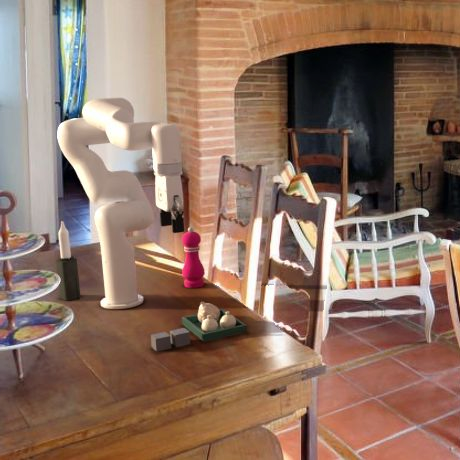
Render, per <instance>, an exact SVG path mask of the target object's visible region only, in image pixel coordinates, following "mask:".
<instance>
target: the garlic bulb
mask: <svg viewBox="0 0 460 460" xmlns="http://www.w3.org/2000/svg"><path fill="white" fill-rule="evenodd" d="M219 310H220V309H219V307H217V305H214V304H213V303H210V302H209V303H207V302H205V301H203V300H201V301H200V303H199V307H198V312H197V314H198V319H199V321H200V322H201V323H203V321H204V320H206V319H207V316H208V315H211V318H212V319H214V320H216V322H217V320H218V318H219V316H220V311H219Z"/></svg>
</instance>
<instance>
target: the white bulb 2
mask: <svg viewBox="0 0 460 460" xmlns="http://www.w3.org/2000/svg"><path fill="white" fill-rule="evenodd" d="M226 311H227V310H226ZM229 313H230V311H227V312H226V315H224V316H223V317H222V318H221V320H220V325H221V327H222V328H223V329H226V328H231V327H235V325H236V319H235V317H236V316H234V315H233V316H232V314H231V313H230V314H231V315H230V314H229Z"/></svg>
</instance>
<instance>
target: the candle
mask: <svg viewBox="0 0 460 460" xmlns="http://www.w3.org/2000/svg"><path fill="white" fill-rule="evenodd" d="M59 228H60V229H59V231H58V234H57V235H58V244H59V250H60V251H59V252H60V256H58V257H57V258H56V259H55V267H56V275H57V274H58V275H59V276H60V278H61V282H60V284H59V286H58V285H57V286H58V287H57V288H58V295H59V296H58V297H59V299H60V300H63V301H66V302H69V301H72V300H75V299H80V298H81V286H80V276H79V268H78V259H77V258H76V257H75V255H72V253H71V251H72V250H71V243H70V233H69V230H68V229H67V228H66V225H65V221H64V220H61V222H60V227H59Z"/></svg>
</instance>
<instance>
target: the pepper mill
mask: <svg viewBox="0 0 460 460" xmlns="http://www.w3.org/2000/svg"><path fill="white" fill-rule="evenodd" d="M201 241H202V237H201V235H200V234H199V232H197V231H194V227H193V226H190V227H188V228H187V232H185V233H184V234H183V235H182V236H181V243H182V244H183V245H184V246H183V251H184V252H185V261H184V264H183V267H182V271H181V274H182V277H183V278H184V281H183V282H184V283H183V284H184V288H188V289H197V288H201V287H203V286H204V285H205V282H204V281H205V280H204V278H203V277H204V276H205V274H206V272H205V267H204V264H203V263H202V261H201V259H200V254H199V252H200V250H201V248H200V247H201V246H200V244H201Z"/></svg>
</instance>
